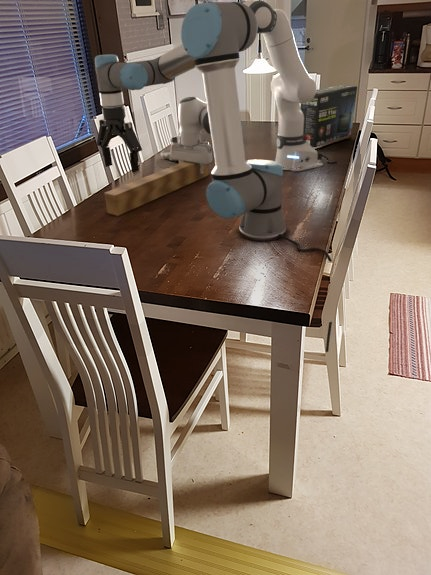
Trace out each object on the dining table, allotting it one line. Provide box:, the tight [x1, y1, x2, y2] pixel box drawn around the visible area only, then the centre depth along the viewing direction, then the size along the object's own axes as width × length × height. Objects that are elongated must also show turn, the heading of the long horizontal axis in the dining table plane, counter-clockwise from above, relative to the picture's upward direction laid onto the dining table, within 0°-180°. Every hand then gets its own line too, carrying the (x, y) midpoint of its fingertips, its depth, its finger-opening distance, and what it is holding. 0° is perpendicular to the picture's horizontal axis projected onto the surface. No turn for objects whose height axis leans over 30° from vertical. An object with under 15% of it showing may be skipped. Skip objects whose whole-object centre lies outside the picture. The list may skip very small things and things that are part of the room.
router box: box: [300, 84, 358, 147], centre depth 238 cm, size 36×11×27 cm, turn 134°
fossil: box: [160, 149, 185, 162], centre depth 229 cm, size 18×11×15 cm
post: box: [103, 161, 210, 217], centre depth 185 cm, size 55×6×8 cm, turn 144°
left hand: (121, 168), depth 165 cm, fingers open, 13 cm apart
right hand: (192, 171), depth 199 cm, fingers open, 8 cm apart
